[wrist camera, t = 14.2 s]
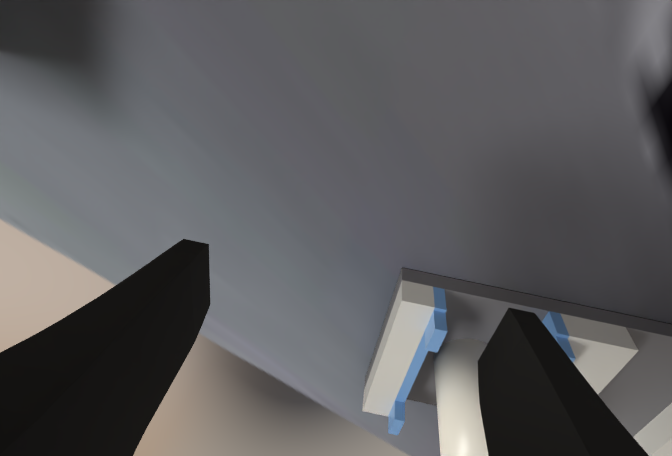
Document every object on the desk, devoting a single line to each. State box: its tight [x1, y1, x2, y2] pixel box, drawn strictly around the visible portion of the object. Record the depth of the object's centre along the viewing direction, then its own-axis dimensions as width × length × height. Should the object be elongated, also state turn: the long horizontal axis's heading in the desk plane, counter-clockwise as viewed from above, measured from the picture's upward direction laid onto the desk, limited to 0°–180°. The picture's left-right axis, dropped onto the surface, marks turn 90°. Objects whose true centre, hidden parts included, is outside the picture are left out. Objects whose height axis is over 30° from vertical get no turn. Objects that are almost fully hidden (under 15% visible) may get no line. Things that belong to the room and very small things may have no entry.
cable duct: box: [362, 268, 672, 456], centre depth 24 cm, size 20×10×4 cm, turn 81°
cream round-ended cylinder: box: [434, 339, 489, 456], centre depth 22 cm, size 4×4×8 cm
